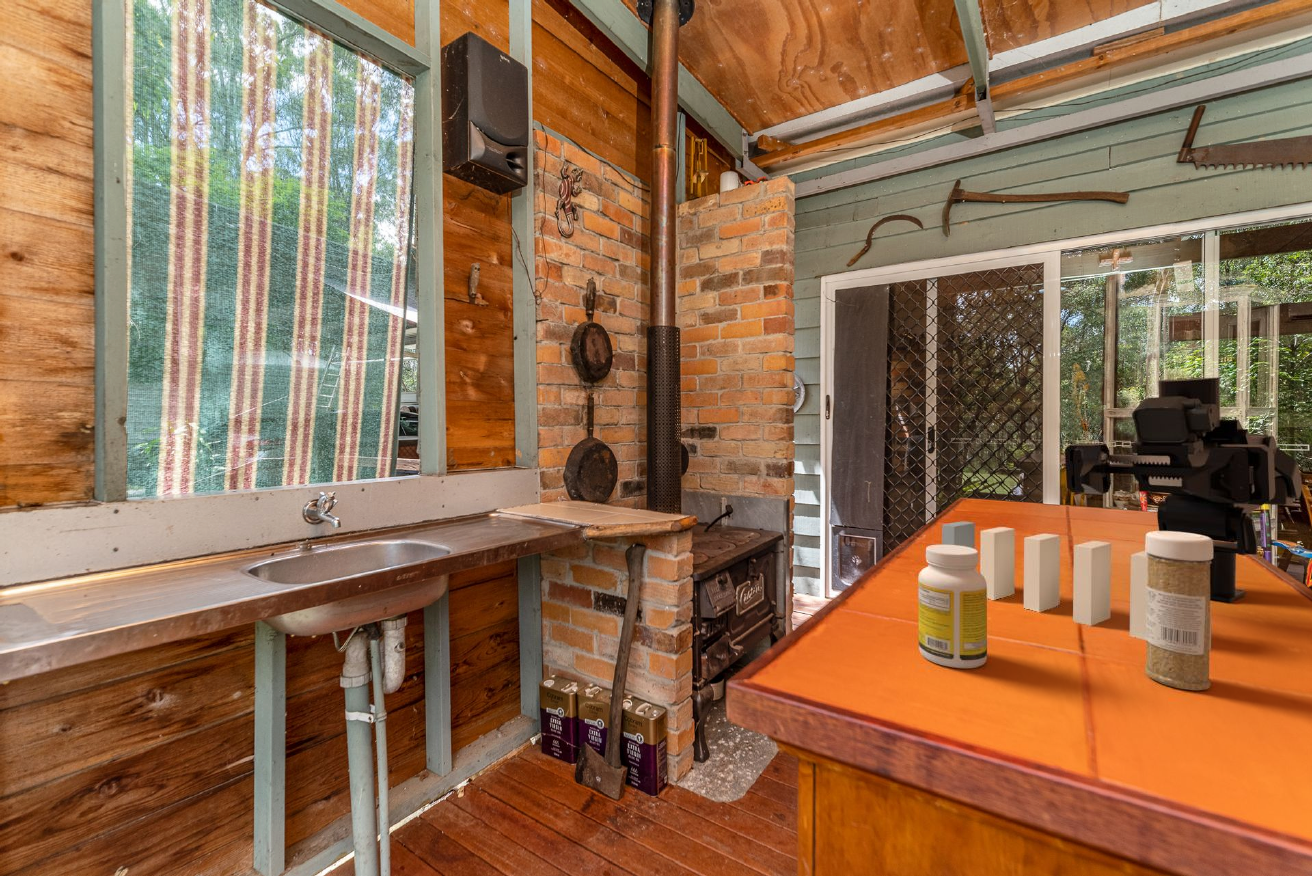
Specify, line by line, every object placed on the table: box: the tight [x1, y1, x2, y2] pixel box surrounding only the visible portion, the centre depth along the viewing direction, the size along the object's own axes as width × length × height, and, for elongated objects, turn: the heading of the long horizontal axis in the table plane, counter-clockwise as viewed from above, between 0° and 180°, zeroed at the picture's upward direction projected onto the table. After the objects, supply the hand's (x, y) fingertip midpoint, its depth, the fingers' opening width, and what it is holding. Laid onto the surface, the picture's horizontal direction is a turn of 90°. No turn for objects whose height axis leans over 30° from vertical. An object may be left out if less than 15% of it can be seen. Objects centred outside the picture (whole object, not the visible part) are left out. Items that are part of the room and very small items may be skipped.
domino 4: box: [1072, 540, 1112, 627], centre depth 69 cm, size 2×5×9 cm, turn 121°
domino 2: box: [979, 526, 1016, 601], centre depth 78 cm, size 2×5×9 cm, turn 121°
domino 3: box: [1023, 532, 1061, 613], centre depth 74 cm, size 2×5×9 cm, turn 121°
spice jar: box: [1144, 530, 1214, 691], centre depth 53 cm, size 5×5×13 cm
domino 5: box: [1129, 550, 1148, 641], centre depth 64 cm, size 2×5×9 cm, turn 121°
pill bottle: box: [917, 544, 988, 670], centre depth 59 cm, size 6×6×11 cm
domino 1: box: [941, 520, 976, 549], centre depth 83 cm, size 2×5×9 cm, turn 121°
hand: (1129, 482), depth 64 cm, fingers open, 9 cm apart
